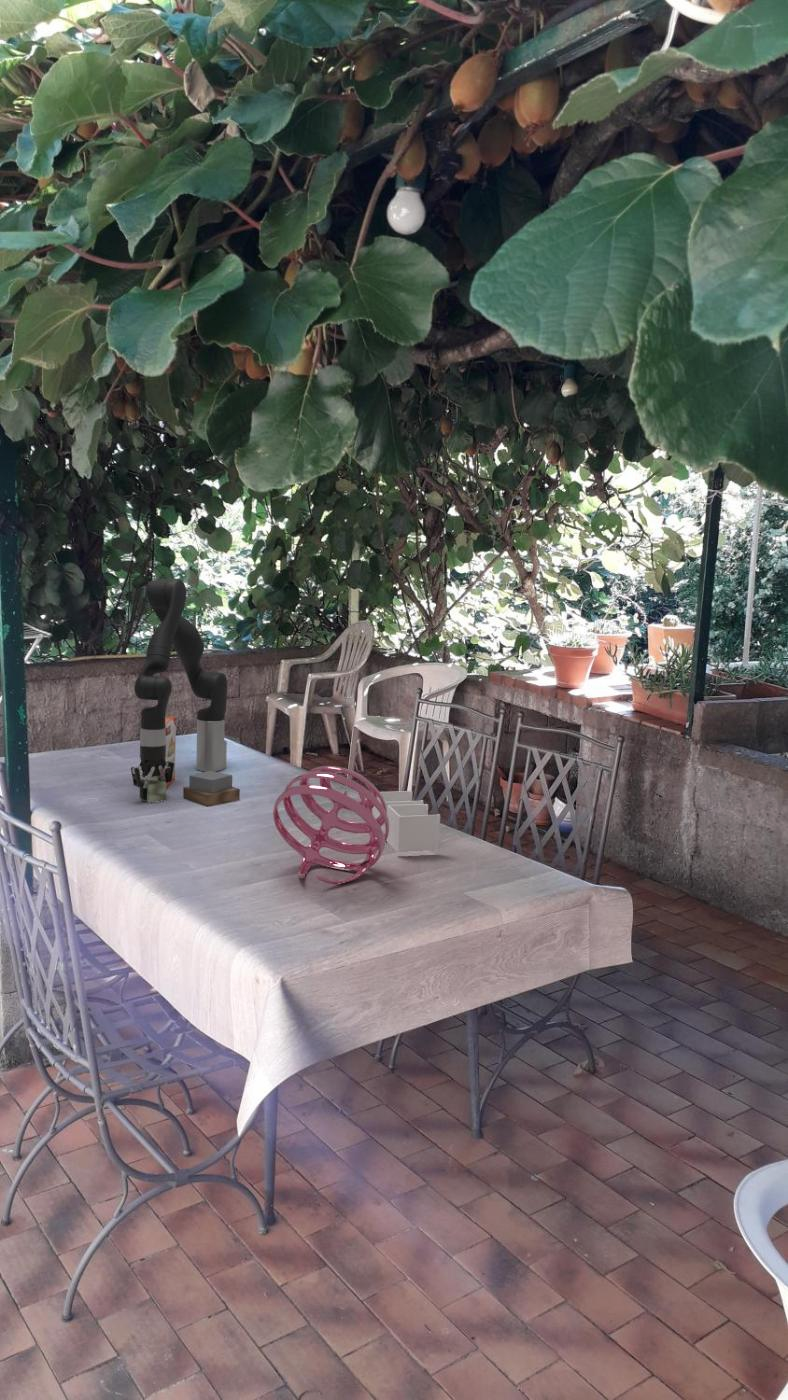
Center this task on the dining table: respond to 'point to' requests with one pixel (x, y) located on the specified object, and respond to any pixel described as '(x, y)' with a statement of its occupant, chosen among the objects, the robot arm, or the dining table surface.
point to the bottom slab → (211, 796)
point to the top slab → (210, 781)
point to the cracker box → (170, 744)
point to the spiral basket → (334, 820)
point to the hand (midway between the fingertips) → (152, 798)
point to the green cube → (156, 791)
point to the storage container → (409, 823)
